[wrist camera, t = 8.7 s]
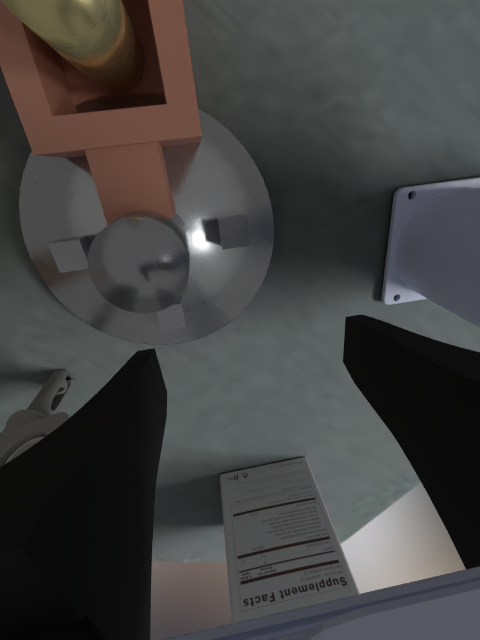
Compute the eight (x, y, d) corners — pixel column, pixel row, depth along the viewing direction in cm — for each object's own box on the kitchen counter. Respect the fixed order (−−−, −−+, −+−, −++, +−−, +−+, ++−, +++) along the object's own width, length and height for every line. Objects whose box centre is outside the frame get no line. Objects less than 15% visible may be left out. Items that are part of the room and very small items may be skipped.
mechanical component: (-16, 386, 21) (-165, 540, 12) (118, 338, 21) (62, 461, 12) (12, 414, 23) (-105, 571, 14) (138, 370, 22) (100, 500, 14)
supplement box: (308, 508, 34) (383, 729, 20) (230, 524, 33) (253, 764, 20) (308, 453, 29) (402, 688, 16) (218, 471, 29) (238, 730, 15)
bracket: (174, -32, 13) (165, -118, 9) (209, 203, 18) (213, 213, 14) (16, -20, 13) (-65, -106, 9) (93, 218, 17) (63, 233, 13)
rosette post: (261, 83, 16) (302, 28, 10) (275, 319, 22) (305, 375, 16) (-20, 112, 15) (-169, 72, 9) (81, 350, 21) (36, 423, 15)
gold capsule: (140, 17, 13) (90, -122, 7) (148, 96, 14) (111, 39, 8) (71, 11, 13) (-47, -140, 6) (86, 93, 14) (-2, 32, 8)
